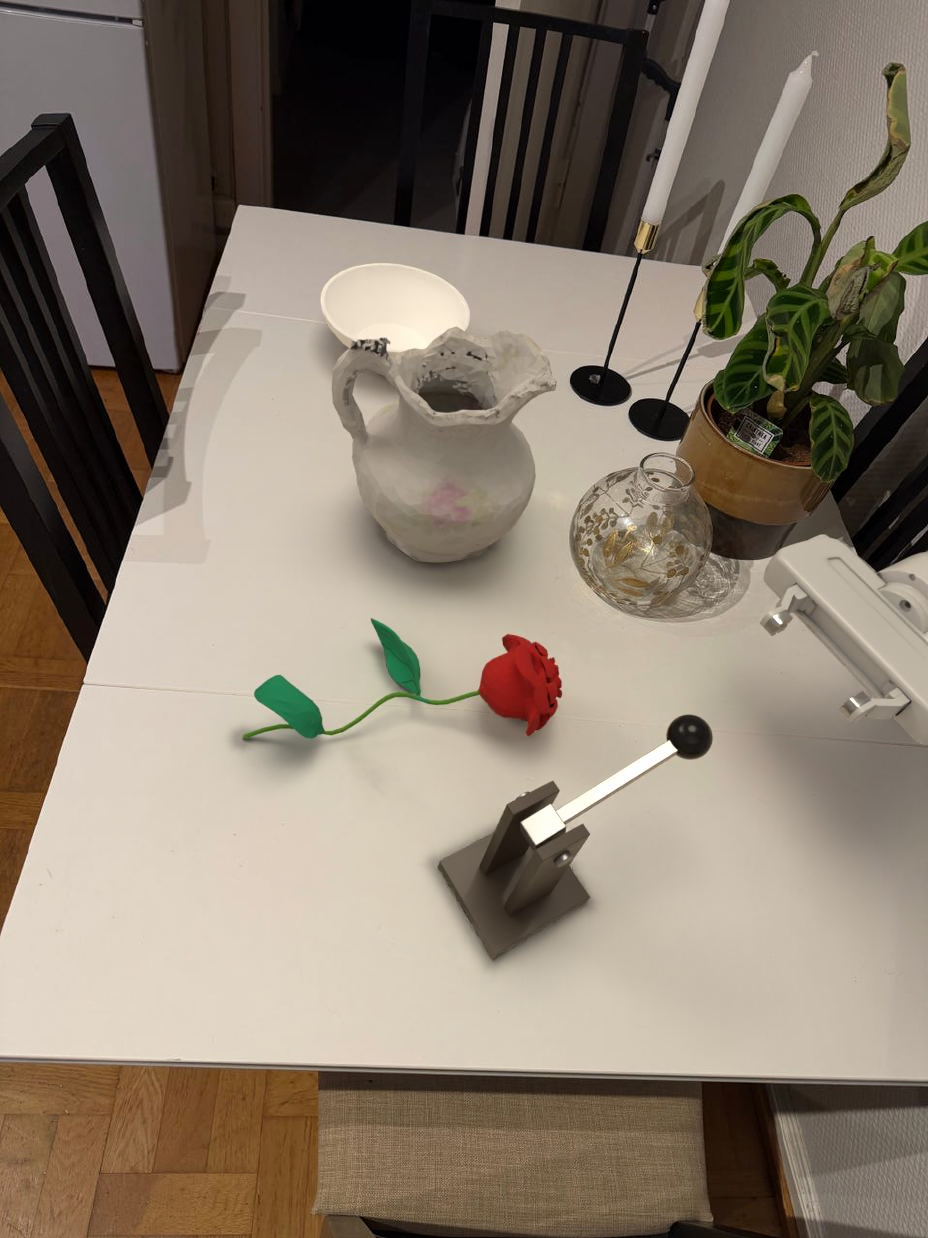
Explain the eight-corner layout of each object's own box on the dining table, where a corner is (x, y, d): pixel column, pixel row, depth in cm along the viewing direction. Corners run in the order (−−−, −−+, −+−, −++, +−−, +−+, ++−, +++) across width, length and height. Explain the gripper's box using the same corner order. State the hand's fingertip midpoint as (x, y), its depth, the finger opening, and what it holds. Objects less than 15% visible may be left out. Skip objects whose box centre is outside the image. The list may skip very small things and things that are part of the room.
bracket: (530, 816, 80) (567, 744, 69) (586, 902, 76) (635, 840, 65) (437, 866, 76) (461, 798, 65) (492, 959, 72) (527, 903, 61)
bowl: (358, 410, 110) (361, 365, 105) (295, 320, 119) (295, 275, 114) (488, 378, 118) (497, 335, 113) (420, 296, 127) (426, 253, 122)
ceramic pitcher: (351, 608, 93) (373, 445, 72) (310, 470, 102) (319, 291, 81) (535, 577, 100) (604, 419, 79) (481, 450, 109) (530, 280, 88)
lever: (689, 717, 72) (696, 699, 69) (717, 751, 71) (726, 735, 68) (515, 825, 69) (514, 811, 66) (540, 864, 67) (541, 852, 64)
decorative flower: (249, 636, 87) (244, 574, 80) (535, 639, 93) (556, 580, 85) (241, 761, 79) (235, 705, 71) (556, 756, 84) (582, 703, 77)
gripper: (846, 507, 79) (738, 553, 73) (1029, 677, 70) (922, 746, 64) (813, 553, 84) (710, 599, 78) (980, 718, 75) (877, 785, 69)
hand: (807, 667), depth 71 cm, fingers open, 8 cm apart
